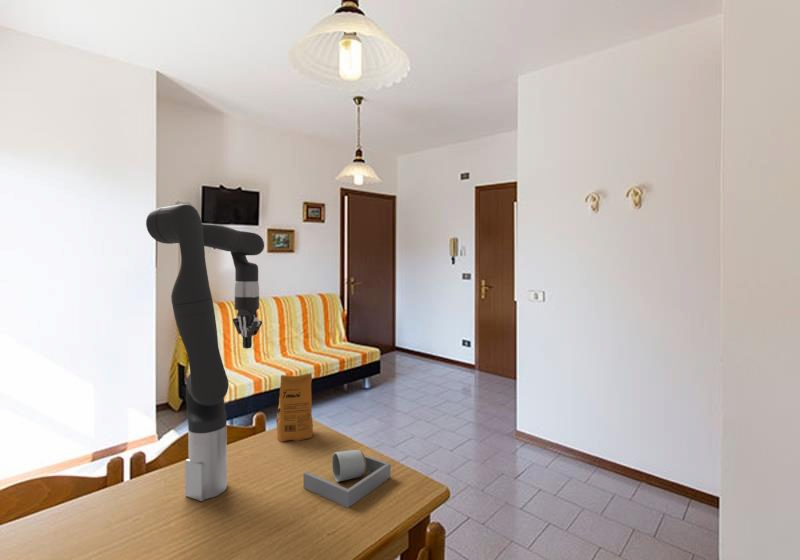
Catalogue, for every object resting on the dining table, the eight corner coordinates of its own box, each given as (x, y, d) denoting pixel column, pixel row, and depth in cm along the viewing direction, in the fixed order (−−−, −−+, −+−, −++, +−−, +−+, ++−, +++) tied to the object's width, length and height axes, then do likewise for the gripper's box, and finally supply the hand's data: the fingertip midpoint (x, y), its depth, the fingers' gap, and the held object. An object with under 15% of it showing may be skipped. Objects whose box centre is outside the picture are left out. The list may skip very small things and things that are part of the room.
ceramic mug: (367, 480, 116) (367, 453, 116) (339, 487, 112) (339, 459, 112) (354, 464, 125) (353, 439, 125) (327, 470, 121) (327, 444, 121)
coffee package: (276, 432, 148) (276, 371, 148) (312, 429, 151) (312, 369, 151) (275, 443, 139) (275, 379, 138) (313, 440, 142) (313, 376, 141)
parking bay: (347, 507, 102) (348, 492, 102) (303, 487, 111) (303, 473, 111) (390, 477, 117) (390, 463, 117) (348, 461, 126) (348, 449, 126)
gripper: (224, 294, 135) (224, 347, 135) (249, 296, 127) (249, 352, 128) (244, 293, 141) (245, 344, 141) (269, 295, 133) (269, 348, 134)
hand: (247, 347), depth 134 cm, fingers closed
